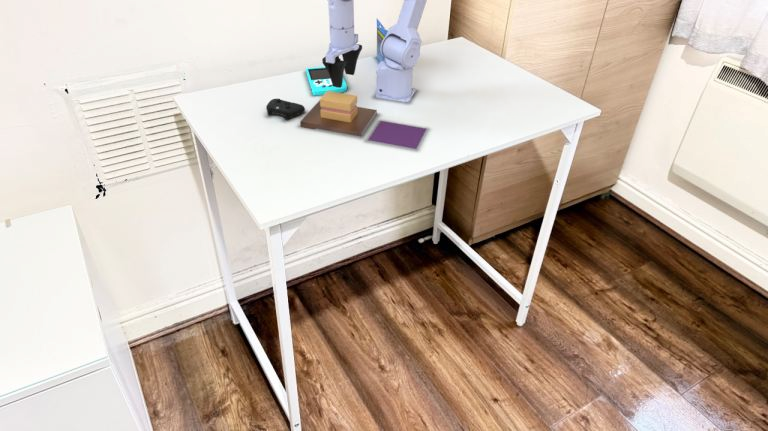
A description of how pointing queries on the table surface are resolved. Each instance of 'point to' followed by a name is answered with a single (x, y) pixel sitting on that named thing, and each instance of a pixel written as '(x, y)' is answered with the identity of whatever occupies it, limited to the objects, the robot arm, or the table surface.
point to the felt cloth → (397, 134)
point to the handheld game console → (322, 81)
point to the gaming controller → (284, 108)
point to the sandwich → (338, 106)
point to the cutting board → (353, 128)
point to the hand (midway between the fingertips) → (343, 80)
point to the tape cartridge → (380, 39)
